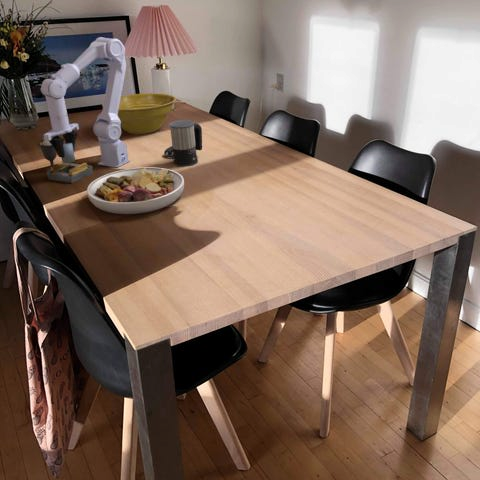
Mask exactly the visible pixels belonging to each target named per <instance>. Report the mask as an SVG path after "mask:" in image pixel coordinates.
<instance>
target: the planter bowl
mask: <svg viewBox="0 0 480 480" xmlns="http://www.w3.org/2000/svg"><path fill="white" fill-rule="evenodd" d="M176 100H177V98H176V97H175V96H173V95H170V94H167V93H166V94H165V93H155V92H153V93H152V92H150V93H135V94H128V95H127V94H126V95H121V98H120V104H119V109H118V117H119V119H120V121H121V125H120V128H121V129H122V130H123V131H125V132H127V133H128V134H131V135H144V134H145V135H146V134H150V133H151V134H152V133H155V132H157V131H159V129H161V128H162V126H163V125H164V122H165V120H166V117H167V115H168V113H170V112H171V111H172V109H173V107H174V104H175V103H174V102H176ZM103 104H104V101H103V102H102V104H101V106H102V107H103Z"/></svg>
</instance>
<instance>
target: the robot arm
mask: <svg viewBox="0 0 480 480" xmlns="http://www.w3.org/2000/svg"><path fill="white" fill-rule="evenodd" d="M125 54H126V47H125V45H124V44H123V43H122V41H121V40H119V38H109V37H107V38H106V37H102V36H99V37H97V38H96V39H95V40H94V41H92V42H91V43H90V45H89V47H87V48H86V49H85V51H83V52H82V53H81V54H80V55H79V57H77V59H75V61H73V62H72V63H64V64H61V65H60V67H61V68H60V69H58V71H56V72H55V73H53V74H51V75H50V78H45V79H44V80H43V81H42V83H41V88H39V89H40V92H41V93H42V95H43V96H44V97H45V100H46V106H47V110H48V115H49V119H50V125H51V128H52V129H50V130H48V132H47V133H44V134H43V136H44V139H45V140H48V141H49V142H50V143H51V144H52V146H53V147H54V149H55V150H56V155H57V156H58V157H59V158H61V157H62V158H63V157H64V148H63V143H66V142H69V143H72V145H73V151H74V152H75V149H76V148H75V147H76V146H75V145H76V141H77V137H78V135H79V134H78V130H80V126H79V123H74V122H73V123H70V121H69V116H68V111H67V105H66V102H65V97H64V96H66V93H67V89H69V88H70V86H72V84H74V83H75V82H76V81H77V80H79V78H80V77H81V75H80V74H81V71H83V70H84V69H86V68H87V67H88V66H89V65H90V64H92V63H93V62H94V61H96V60H97V59H102V60H103V61H104V62H105V63H106V65H107V66H108V67H109V71H108V78H107V83H106V88H105V95H104V100H103V102H104V104H103V106H102V111H101V112H100V113H99V114H98V115H97V116H96V117H97V118H96V120H95V122H94V124H93V128H92V130H93V133H94V134H95V136H97V140H98V145H99V150H100V156H101V161H100V162H98V163H97V165H99V166H105V167H112V168H120V167H122V166H123V165H125V164H127V163H128V162H130V161H131V159H129V153H128V147H127V144H126V142H125V141H122V140H121V139H120V137H121V136H122V127H121V126H120V125H121V121H120V119H119V117H118V109H119V104H120V98H121V96H122V93H123V88H124V87H123V86H124V81H125V77H126V72H127V71H126V70H127V61H126V57H125ZM75 130H76V131H75ZM60 136H62V137H60ZM62 158H61V159H62Z"/></svg>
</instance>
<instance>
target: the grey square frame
mask: <svg viewBox="0 0 480 480" xmlns="http://www.w3.org/2000/svg"><path fill="white" fill-rule="evenodd" d="M49 168H51V171H49V172H47V171H46V175H47V179H48V180H50V181H57V182H63V183H69V184H73V183H74V184H75V182H77V181H80V180H81V179H83V178H86V177H87V176H89V175H91V174H93V173H94V170H93V166H92V165H90V164H88V163H87V162H83V163H81V164H79V163H74V162H71V163H63V162H62V161H61V162H59V163H57V164H54V166H52V167H51V166H50V167H49Z"/></svg>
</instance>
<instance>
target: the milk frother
mask: <svg viewBox="0 0 480 480" xmlns="http://www.w3.org/2000/svg"><path fill="white" fill-rule="evenodd" d="M168 126H169V128H170V137H171V138H170V139H171V146H169V147H167V148H166V149H165V150H164V152H163V154H164V156H165V157H166V158H170V159H173V162H172V164H173V165H175V166H178V167H189V166H192V165H195V164H197V163H198V162H199V159H198V156H197V151H202V149H203V133H202V132H203V130H202V126H201V125H200V124H199V123H196V122H195V121H193V120H189V119H188V120H187V119H182V120H181V119H180V120H173V121H172V122H170V123H169V124H168Z"/></svg>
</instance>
